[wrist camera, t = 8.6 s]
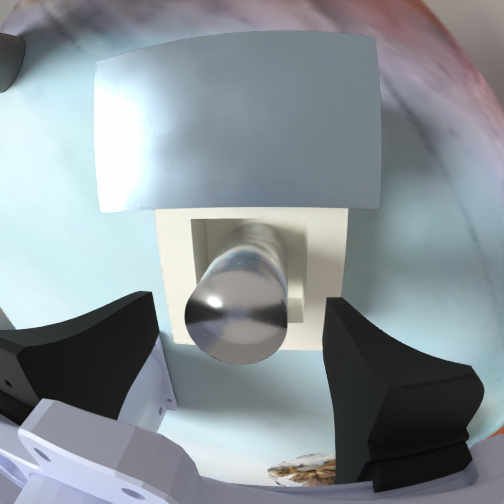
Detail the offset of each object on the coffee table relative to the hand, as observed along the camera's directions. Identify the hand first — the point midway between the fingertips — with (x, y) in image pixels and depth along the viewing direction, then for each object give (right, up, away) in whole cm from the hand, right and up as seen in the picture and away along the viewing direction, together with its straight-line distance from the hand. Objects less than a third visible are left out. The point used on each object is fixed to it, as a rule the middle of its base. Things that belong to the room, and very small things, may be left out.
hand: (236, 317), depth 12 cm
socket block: (+1, +3, +8) cm, 8 cm away
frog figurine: (+9, -25, +17) cm, 32 cm away
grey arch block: (+1, +10, +5) cm, 11 cm away
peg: (+1, +2, +7) cm, 7 cm away
